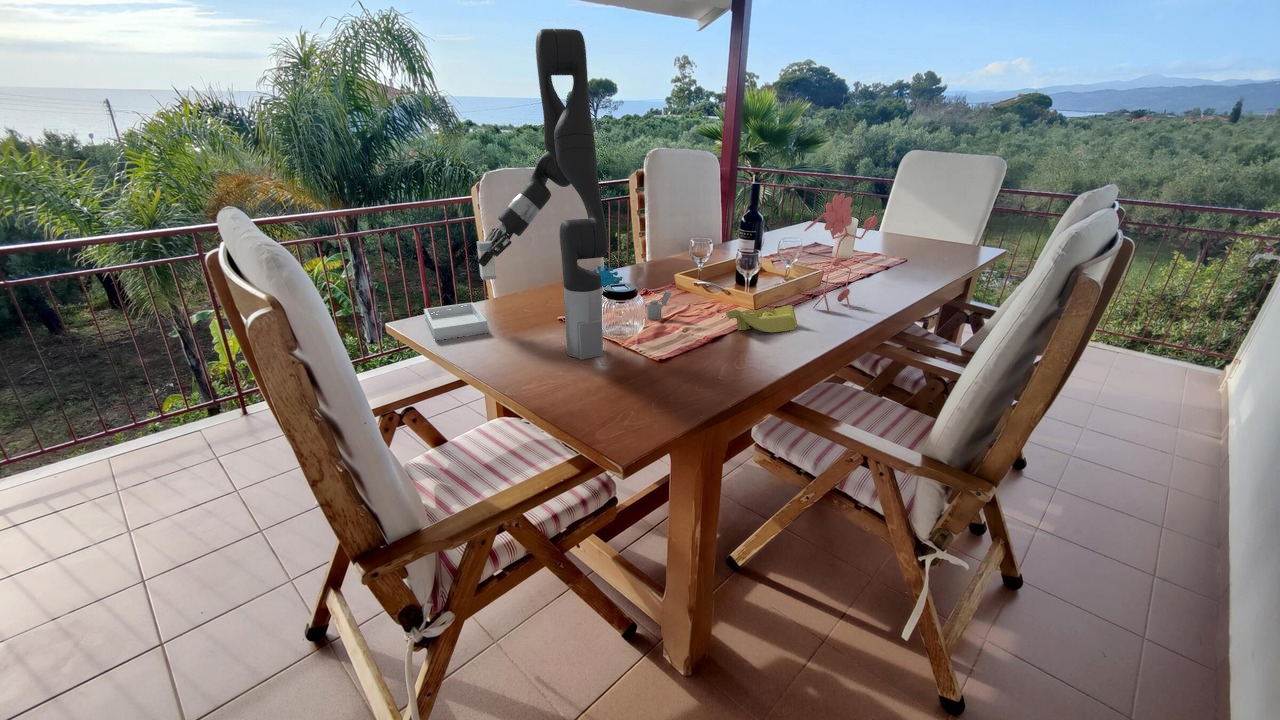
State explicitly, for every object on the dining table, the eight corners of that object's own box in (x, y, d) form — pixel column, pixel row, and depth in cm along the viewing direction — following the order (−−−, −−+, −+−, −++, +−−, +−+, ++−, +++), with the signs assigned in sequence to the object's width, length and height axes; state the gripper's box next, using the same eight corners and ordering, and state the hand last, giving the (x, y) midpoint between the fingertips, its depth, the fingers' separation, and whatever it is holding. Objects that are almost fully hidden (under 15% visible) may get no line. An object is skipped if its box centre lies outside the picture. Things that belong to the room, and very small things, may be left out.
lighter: (648, 318, 163) (648, 293, 159) (646, 317, 164) (646, 291, 161) (670, 316, 164) (671, 291, 161) (668, 315, 166) (669, 289, 163)
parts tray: (488, 332, 151) (486, 320, 149) (435, 341, 145) (433, 328, 143) (474, 313, 165) (472, 302, 164) (425, 320, 159) (423, 308, 158)
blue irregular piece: (592, 288, 185) (591, 262, 189) (589, 296, 190) (588, 271, 194) (623, 290, 188) (622, 265, 192) (619, 298, 193) (618, 274, 197)
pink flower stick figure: (870, 305, 176) (889, 193, 162) (811, 318, 165) (826, 198, 151) (834, 294, 189) (849, 188, 175) (777, 304, 177) (788, 193, 164)
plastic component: (772, 309, 165) (795, 303, 156) (775, 333, 165) (798, 329, 156) (718, 313, 156) (739, 308, 147) (722, 339, 156) (743, 335, 147)
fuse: (496, 278, 152) (492, 242, 148) (483, 280, 150) (479, 243, 146) (493, 275, 155) (489, 240, 150) (480, 277, 153) (476, 241, 149)
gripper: (502, 201, 153) (463, 248, 153) (515, 209, 142) (473, 259, 142) (522, 219, 158) (484, 265, 158) (536, 228, 146) (495, 277, 146)
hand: (479, 262), depth 150 cm, fingers closed on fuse, 3 cm apart
